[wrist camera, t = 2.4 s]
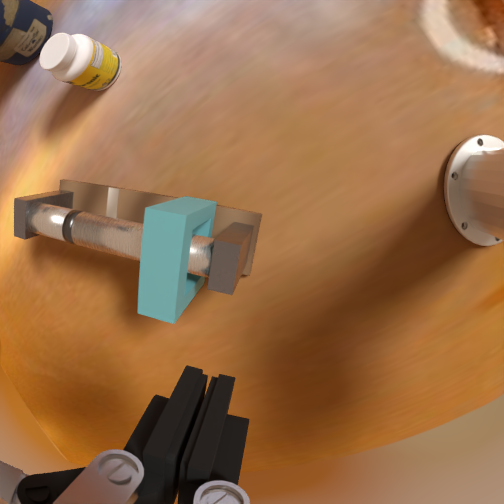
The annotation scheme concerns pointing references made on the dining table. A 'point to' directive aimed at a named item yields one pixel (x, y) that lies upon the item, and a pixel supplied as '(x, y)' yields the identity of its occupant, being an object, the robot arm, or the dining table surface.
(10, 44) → the canister
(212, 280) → the rail
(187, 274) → the teal rectangular frame
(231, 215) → the base board
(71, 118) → the dining table surface
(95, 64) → the supplement bottle
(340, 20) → the dining table surface
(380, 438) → the dining table surface
